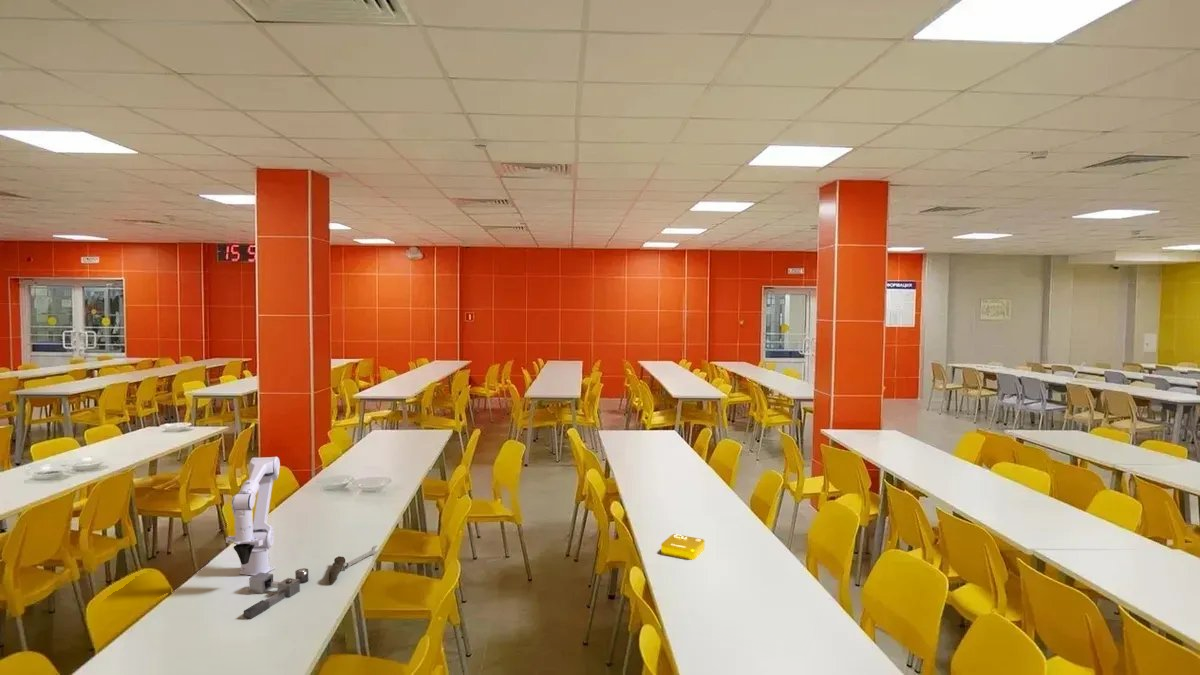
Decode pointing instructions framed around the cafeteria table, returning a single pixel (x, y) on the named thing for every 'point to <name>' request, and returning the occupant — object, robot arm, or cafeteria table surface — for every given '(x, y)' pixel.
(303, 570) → the socket
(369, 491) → the cafeteria table surface
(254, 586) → the grey block
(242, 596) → the cafeteria table surface
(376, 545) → the combination wrench
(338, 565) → the rough brown wooden log
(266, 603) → the ratchet
